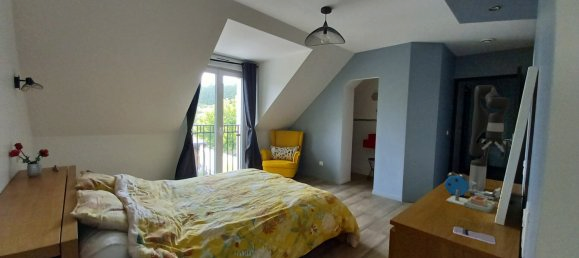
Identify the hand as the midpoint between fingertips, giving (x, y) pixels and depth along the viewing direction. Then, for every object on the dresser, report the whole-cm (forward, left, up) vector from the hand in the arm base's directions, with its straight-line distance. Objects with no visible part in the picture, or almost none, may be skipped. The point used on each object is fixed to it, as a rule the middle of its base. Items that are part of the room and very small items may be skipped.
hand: (492, 156), depth 147 cm
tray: (+12, -2, -29) cm, 32 cm away
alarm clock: (0, -17, -29) cm, 34 cm away
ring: (+14, -2, -28) cm, 32 cm away
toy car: (-12, -5, -30) cm, 32 cm away
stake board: (+12, -13, -29) cm, 34 cm away
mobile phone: (+57, +5, -30) cm, 64 cm away
